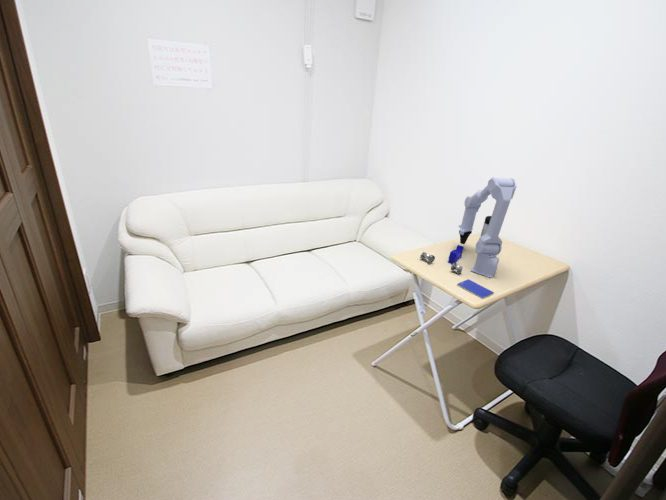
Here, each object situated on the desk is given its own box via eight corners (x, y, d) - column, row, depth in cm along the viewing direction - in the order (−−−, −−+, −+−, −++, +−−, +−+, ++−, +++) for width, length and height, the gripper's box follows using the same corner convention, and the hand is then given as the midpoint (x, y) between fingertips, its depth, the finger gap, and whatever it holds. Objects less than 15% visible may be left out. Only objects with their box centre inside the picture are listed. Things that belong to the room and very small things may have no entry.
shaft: (434, 261, 169) (435, 255, 167) (429, 263, 167) (430, 256, 165) (424, 256, 173) (426, 250, 172) (419, 258, 172) (421, 251, 170)
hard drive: (457, 283, 150) (482, 297, 142) (468, 278, 155) (494, 291, 146) (456, 286, 151) (482, 300, 142) (468, 281, 156) (493, 294, 147)
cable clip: (452, 254, 181) (455, 244, 178) (461, 257, 179) (463, 246, 176) (444, 262, 172) (447, 251, 169) (453, 264, 170) (456, 253, 167)
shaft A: (450, 270, 161) (451, 263, 160) (453, 268, 164) (454, 261, 162) (459, 273, 159) (460, 266, 158) (461, 271, 162) (463, 264, 160)
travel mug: (489, 252, 187) (499, 217, 178) (487, 256, 182) (497, 220, 173) (477, 248, 190) (487, 214, 181) (475, 252, 184) (484, 217, 176)
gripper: (465, 214, 187) (459, 237, 193) (456, 220, 176) (450, 245, 182) (478, 217, 183) (472, 241, 189) (470, 224, 172) (463, 249, 178)
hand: (462, 243), depth 185 cm, fingers closed
